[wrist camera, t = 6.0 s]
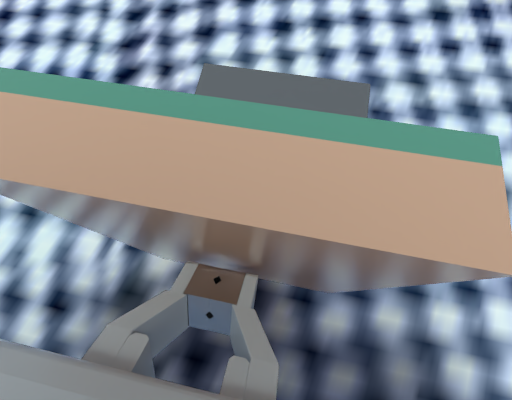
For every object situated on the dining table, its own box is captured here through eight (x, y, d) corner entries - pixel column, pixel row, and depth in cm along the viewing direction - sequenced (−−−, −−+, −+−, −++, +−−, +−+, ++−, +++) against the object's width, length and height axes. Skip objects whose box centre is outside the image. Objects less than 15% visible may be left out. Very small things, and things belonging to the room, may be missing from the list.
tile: (329, 293, 15) (517, 276, 4) (164, 258, 16) (-75, 164, 5) (332, 251, 16) (498, 136, 5) (176, 221, 17) (-5, 67, 6)
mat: (351, 241, 16) (354, 240, 15) (164, 206, 17) (161, 204, 16) (367, 89, 19) (370, 84, 18) (206, 69, 20) (204, 63, 19)
